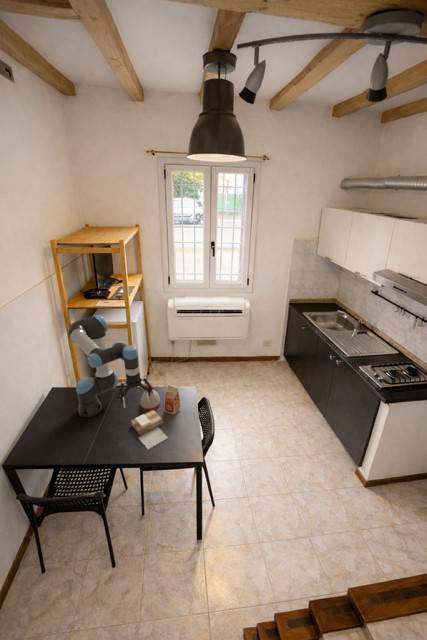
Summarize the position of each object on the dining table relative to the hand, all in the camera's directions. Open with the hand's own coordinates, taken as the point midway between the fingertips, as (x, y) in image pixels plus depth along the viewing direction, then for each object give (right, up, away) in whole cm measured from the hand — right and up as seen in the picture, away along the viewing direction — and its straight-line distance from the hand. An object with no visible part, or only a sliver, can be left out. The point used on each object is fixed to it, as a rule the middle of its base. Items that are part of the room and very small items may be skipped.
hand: (136, 403), depth 181 cm
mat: (+8, -24, +10) cm, 27 cm away
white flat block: (0, -16, +17) cm, 24 cm away
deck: (+2, -19, +21) cm, 28 cm away
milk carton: (+17, -13, +34) cm, 40 cm away
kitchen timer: (0, -11, +40) cm, 41 cm away
